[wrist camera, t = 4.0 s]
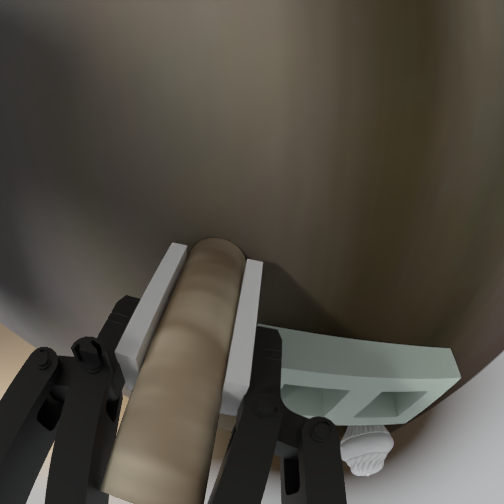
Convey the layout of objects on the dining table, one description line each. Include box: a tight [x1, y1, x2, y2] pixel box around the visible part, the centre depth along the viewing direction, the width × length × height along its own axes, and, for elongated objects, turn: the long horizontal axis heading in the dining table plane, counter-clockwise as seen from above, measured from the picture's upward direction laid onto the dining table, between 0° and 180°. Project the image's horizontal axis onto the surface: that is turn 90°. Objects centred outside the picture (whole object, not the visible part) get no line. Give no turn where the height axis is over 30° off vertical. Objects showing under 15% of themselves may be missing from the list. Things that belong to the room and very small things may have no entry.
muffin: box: [340, 425, 394, 476], centre depth 23 cm, size 6×6×7 cm
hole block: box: [257, 323, 461, 425], centre depth 19 cm, size 16×8×3 cm, turn 79°
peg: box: [100, 238, 246, 504], centre depth 10 cm, size 3×3×12 cm
